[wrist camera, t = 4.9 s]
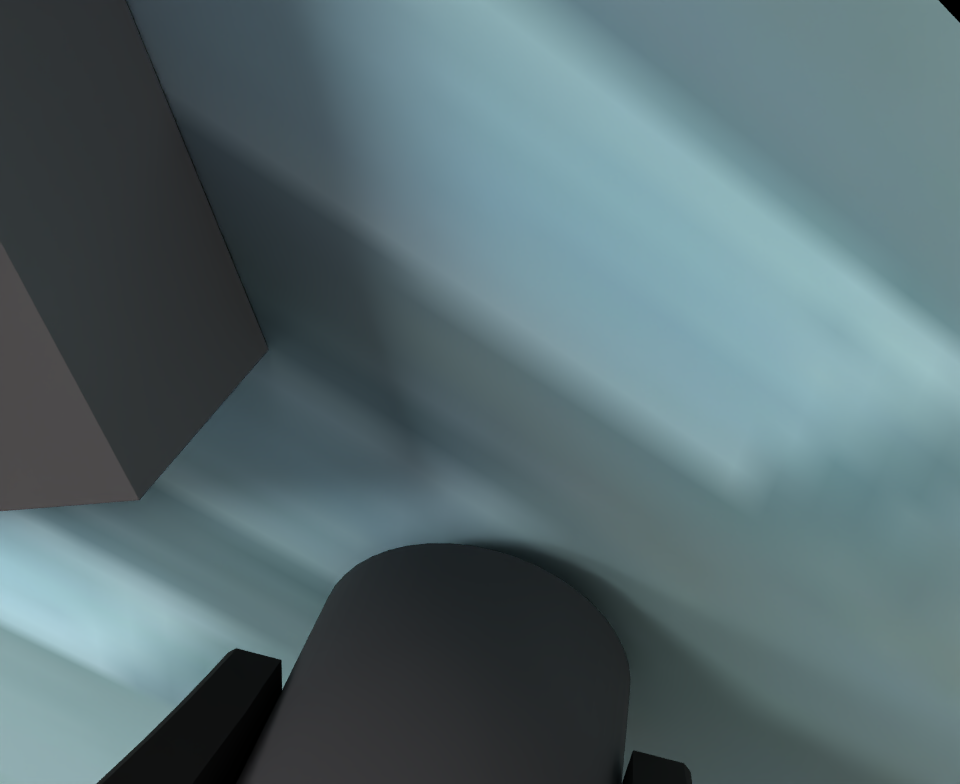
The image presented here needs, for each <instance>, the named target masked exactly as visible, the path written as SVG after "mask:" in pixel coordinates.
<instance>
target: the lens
mask: <svg viewBox="0 0 960 784" xmlns="http://www.w3.org/2000/svg"><path fill="white" fill-rule="evenodd" d="M629 695H630V672H629V665H628V661H627V658H626V655H625V652H624V649H623V646H622V644H621V642H620V640H619V639H618V637H617V635H616V633H615V631H614V630H613V628H612V627H611V626H610V624H609V623H608V621H607V620H606V619H605V617H604V616H603V615H602V614H601V613H600V612H599V611H598V610H597V608H596V607H595V606H594V605H593V604H592V603H591V602H590V601H589V600H587V599H586V598H585V597H584V596H583V595H582V594H580V593H579V592H578V591H577V590H576V589H574V588H573V587H571V586H570V585H568V584H567V583H566V582H564V581H563V580H561V579H560V578H558V577H557V576H555V575H553V574H551V573H549V572H547V571H545V570H544V569H542V568H540V567H538V566H536V565H534V564H531V563H529V562H526V561H524V560H522V559H519V558H517V557H514V556H511V555H507V554H504V553H501V552H498V551H494V550H490V549H485V548H480V547H475V546H469V545H459V544H419V545H410V546H405V547H401V548H396V549H392V550H388V551H386V552H383V553H380V554H378V555H375V556H372V557H371V558H369V559H367V560H365V561H363V562H362V563H360V564H358V565H357V566H355V567H354V568H353V569H351V570H350V571H349V572H348V573H346V574H345V575H344V576H343V577H342V579H341V580H340V581H339V582H338V583H337V584H336V585H335V587H334V589H333V590H332V592H331V594H330V595H329V597H328V599H327V601H326V603H325V605H324V607H323V609H322V611H321V613H320V615H319V617H318V619H317V621H316V623H315V625H314V627H313V629H312V631H311V633H310V635H309V637H308V639H307V641H306V643H305V645H304V647H303V649H302V651H301V653H300V655H299V657H298V659H297V661H296V663H295V665H294V667H293V669H292V671H291V673H290V675H289V677H288V680H287V682H286V684H285V686H284V688H283V690H282V692H281V694H280V696H279V698H278V700H277V702H276V704H275V706H274V708H273V710H272V712H271V714H270V716H269V718H268V720H267V722H266V724H265V726H264V728H263V730H262V732H261V734H260V736H259V738H258V740H257V742H256V744H255V746H254V748H253V750H252V752H251V754H250V756H249V758H248V760H247V762H246V764H245V766H244V768H243V770H242V772H241V774H240V776H239V778H238V780H237V782H236V784H622V773H623V762H624V751H625V739H626V728H627V717H628V706H629Z"/></svg>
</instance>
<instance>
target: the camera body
mask: <svg viewBox="0 0 960 784" xmlns="http://www.w3.org/2000/svg"><path fill="white" fill-rule="evenodd" d="M268 350H269V349H268V347H267V345H266V342H265V340H264V337H263V335H262V332H261V330H260V327H259V325H258V323H257V320H256V318H255V315H254V313H253V310H252V308H251V306H250V303H249V301H248V298H247V296H246V293H245V291H244V288H243V286H242V284H241V281H240V279H239V276H238V274H237V271H236V269H235V266H234V264H233V262H232V259H231V257H230V254H229V252H228V249H227V247H226V244H225V242H224V240H223V237H222V235H221V232H220V230H219V227H218V225H217V222H216V220H215V218H214V215H213V213H212V210H211V208H210V205H209V203H208V200H207V198H206V196H205V193H204V191H203V188H202V186H201V183H200V181H199V178H198V176H197V174H196V171H195V169H194V166H193V164H192V161H191V159H190V156H189V154H188V152H187V149H186V147H185V144H184V142H183V139H182V137H181V134H180V132H179V130H178V127H177V125H176V122H175V120H174V117H173V115H172V113H171V110H170V108H169V105H168V103H167V100H166V98H165V95H164V93H163V91H162V88H161V86H160V83H159V81H158V78H157V76H156V73H155V71H154V69H153V66H152V64H151V61H150V59H149V56H148V54H147V51H146V49H145V47H144V44H143V42H142V39H141V37H140V34H139V32H138V29H137V27H136V25H135V22H134V20H133V17H132V15H131V12H130V10H129V7H128V5H127V3H126V0H0V511H8V510H21V509H33V508H46V507H59V506H71V505H84V504H97V503H109V502H122V501H135V500H140V499H141V497H142V496H143V495H144V494H145V493H146V492H147V490H148V489H149V488H150V487H151V486H152V485H153V484H154V482H155V481H156V480H157V479H158V478H159V477H160V475H161V474H162V473H163V472H164V471H165V470H166V468H167V467H168V466H169V465H170V464H171V463H172V461H173V460H174V459H175V458H176V457H177V456H178V454H179V453H180V452H181V451H182V450H183V449H184V447H185V446H186V445H187V444H188V443H189V442H190V440H191V439H192V438H193V437H194V436H195V435H196V433H197V432H198V431H199V430H200V429H201V428H202V427H203V425H204V424H205V423H206V422H207V421H208V420H209V418H210V417H211V416H212V415H213V414H214V413H215V411H216V410H217V409H218V408H219V407H220V406H221V404H222V403H223V402H224V401H225V400H226V399H227V397H228V396H229V395H230V394H231V393H232V392H233V390H234V389H235V388H236V387H237V386H238V385H239V383H240V382H241V381H242V380H243V379H244V378H245V377H246V375H247V374H248V373H249V372H250V371H251V370H252V368H253V367H254V366H255V365H256V364H257V363H258V361H259V360H260V359H261V358H262V357H263V356H264V354H265V353H266V352H267V351H268Z"/></svg>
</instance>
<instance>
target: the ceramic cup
mask: <svg viewBox="0 0 960 784" xmlns="http://www.w3.org/2000/svg"><path fill="white" fill-rule="evenodd" d="M939 1H940V2H941V3H942V4H943V5H944V7H945V8H946V9H947V10H948V11H949V12H950V13H951V14H952V15H953V16H954V17H955V18H956V19H957V20H958V21H959V22H960V0H939Z"/></svg>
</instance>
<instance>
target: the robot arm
mask: <svg viewBox="0 0 960 784" xmlns="http://www.w3.org/2000/svg"><path fill="white" fill-rule="evenodd" d="M281 692H282V665H281V660H280V659H276V658H272V657H268V656H264V655H260V654H256V653H252V652H248V651H245V650H241V649H237V648H236V649H234V650H232V651H230V652H228V653H227V654H226V655H225V656H224V658H223V659H222V660H221V661H220V662H219V663H218V664H217V665H216V666H215V667H214V668H213V669H212V671H211V672H210V673H209V674H208V675H207V676H206V677H205V678H204V679H203V680H202V681H201V682H200V683H199V684H198V685H197V686H196V687H195V688H194V689H193V691H192V692H191V693H190V694H189V695H188V696H187V697H186V698H185V699H184V700H183V701H182V702H181V703H180V704H179V705H178V706H177V707H176V708H175V709H174V710H173V711H172V712H171V713H170V714H169V715H168V716H167V717H166V718H165V719H164V720H163V721H162V722H161V723H160V724H159V725H158V726H157V727H156V728H155V729H154V730H153V731H152V732H151V733H150V734H149V735H148V736H147V737H146V738H145V739H144V740H143V741H142V742H140V743H139V744H138V745H137V746H136V747H135V748H134V749H133V750H132V751H131V752H130V753H129V754H128V755H127V756H126V757H124V758H123V759H122V760H121V761H120V762H119V763H118V764H117V765H116V766H115V767H114V768H113V769H112V770H111V771H110V772H108V773H107V774H106V775H105V776H104V777H103V778H102V779H101V780H100V781H99V782H98V783H97V784H236V782H237V780H238V778H239V776H240V774H241V772H242V770H243V768H244V766H245V764H246V762H247V760H248V758H249V756H250V754H251V752H252V750H253V748H254V746H255V744H256V742H257V740H258V738H259V736H260V734H261V732H262V730H263V728H264V726H265V724H266V722H267V720H268V718H269V716H270V714H271V712H272V710H273V708H274V706H275V704H276V702H277V700H278V698H279V696H280V694H281ZM622 784H692V779H691V772H690V771H689V769H688V768H687V767H686V765H685V764H684V763H680V762H676V761H672V760H669V759H665V758H661V757H657V756H653V755H649V754H645V753H641V752H637V751H634V750H633V752H632V755H631V758H630V761H629V764H628V767H627V770H626V773H625V776H624V779H623V782H622Z"/></svg>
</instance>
